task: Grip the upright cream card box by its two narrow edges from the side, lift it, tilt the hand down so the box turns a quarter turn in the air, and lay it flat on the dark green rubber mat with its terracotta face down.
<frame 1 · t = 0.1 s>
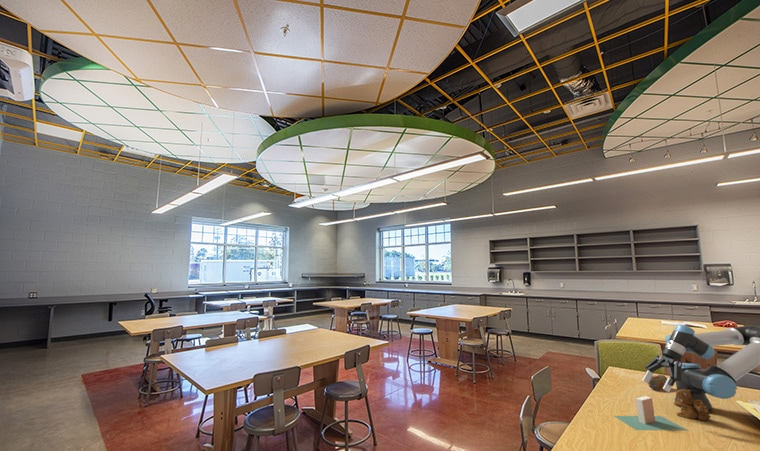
hand: (654, 386, 168), 15 cm above the table, tool tilted 35°, fingers open, 13 cm apart
brown piece: (659, 389, 207), on the table
mat: (649, 423, 158), on the table
stuffed squirrel: (694, 418, 164), on the table
card box: (647, 421, 160), resting on mat
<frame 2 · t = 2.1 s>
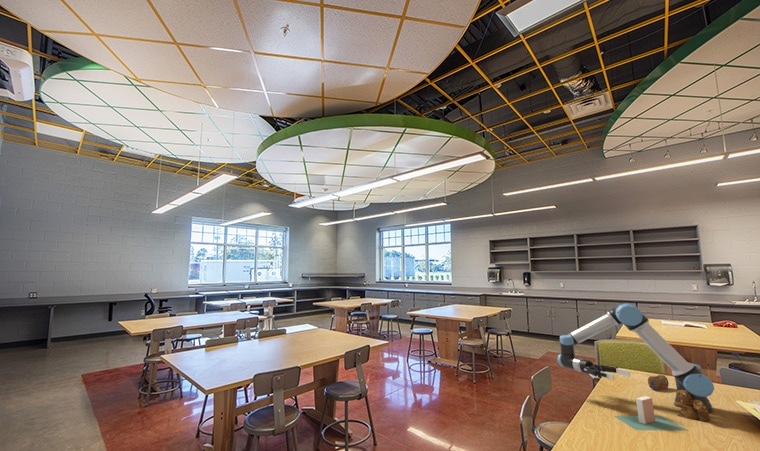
hand: (621, 375, 171), 20 cm above the table, tool horizontal, fingers open, 13 cm apart
stuffed squirrel: (694, 418, 164), on the table, touching arm
everything else where it was.
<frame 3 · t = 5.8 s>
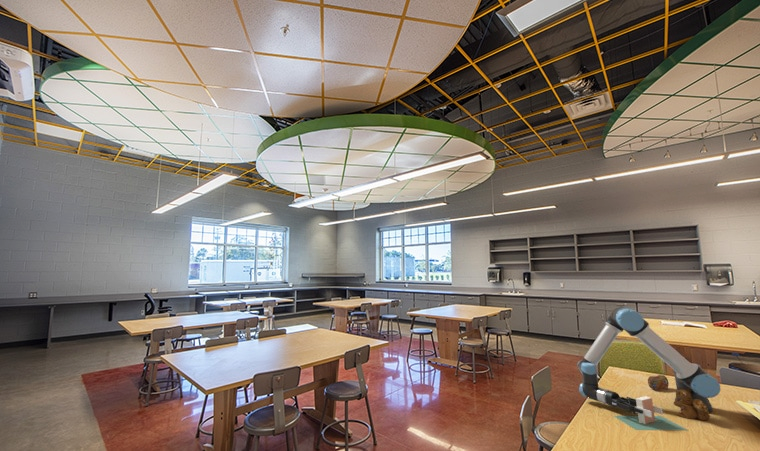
hand: (656, 412, 156), 6 cm above the table, tool horizontal, fingers closed on card box, 8 cm apart
stuffed squirrel: (694, 418, 164), on the table
card box: (647, 421, 160), resting on mat, touching gripper
everything else where it was.
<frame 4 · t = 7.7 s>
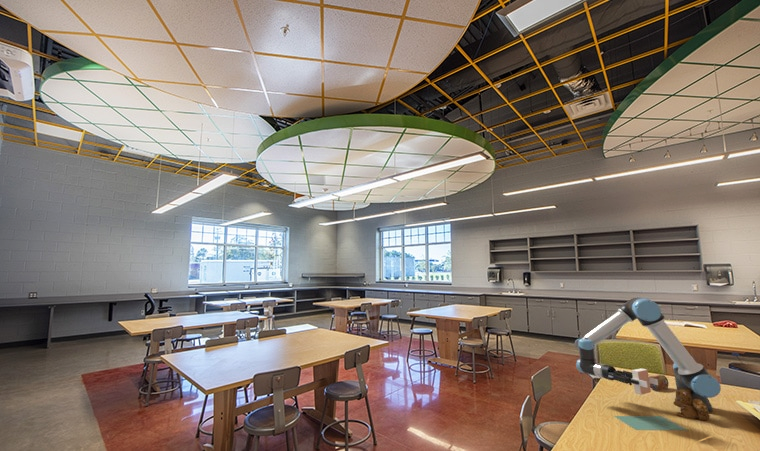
hand: (652, 383, 159), 20 cm above the table, tool horizontal, fingers closed on card box, 8 cm apart
card box: (643, 392, 162), point 14 cm above the table, touching gripper
everything else where it was.
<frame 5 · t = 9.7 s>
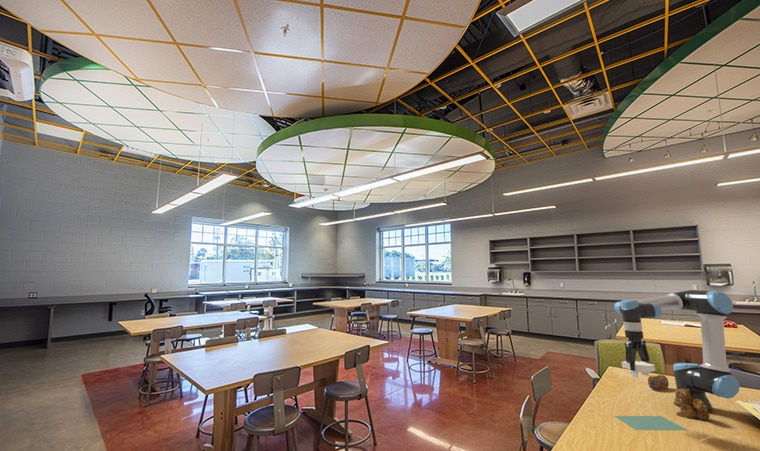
hand: (640, 376, 163), 22 cm above the table, tool pointing down, fingers closed on card box, 8 cm apart
card box: (626, 363, 169), point 27 cm above the table, tilted 90°, touching gripper
everything else where it was.
when the fingers open (2 cm above the table, at t = 12.1 s): card box drops 4 cm, resting on mat.
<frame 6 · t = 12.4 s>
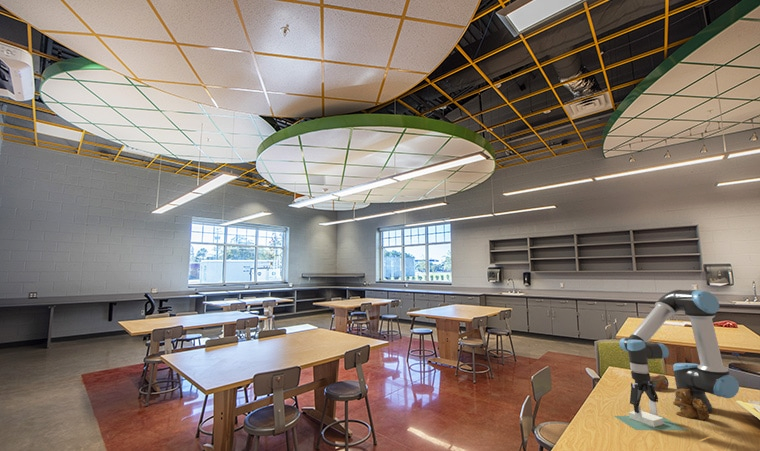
hand: (646, 417, 160), 3 cm above the table, tool pointing down, fingers open, 12 cm apart
card box: (633, 414, 165), point 2 cm above the table, tilted 90°, touching mat
everything else where it was.
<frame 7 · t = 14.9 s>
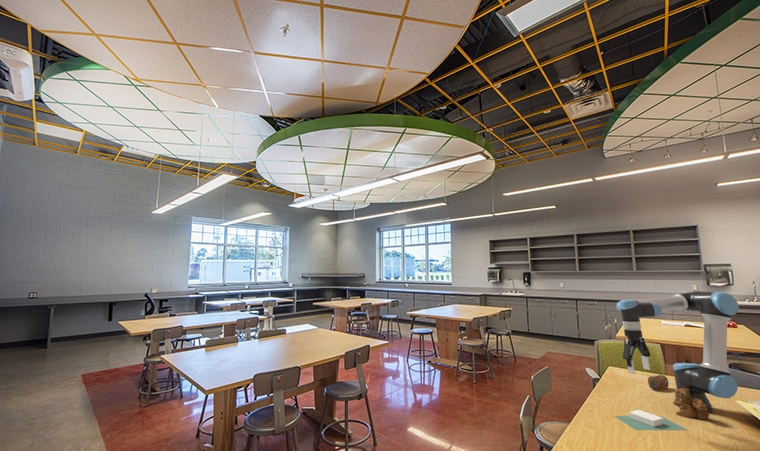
hand: (639, 371, 167), 23 cm above the table, tool pointing down, fingers open, 13 cm apart
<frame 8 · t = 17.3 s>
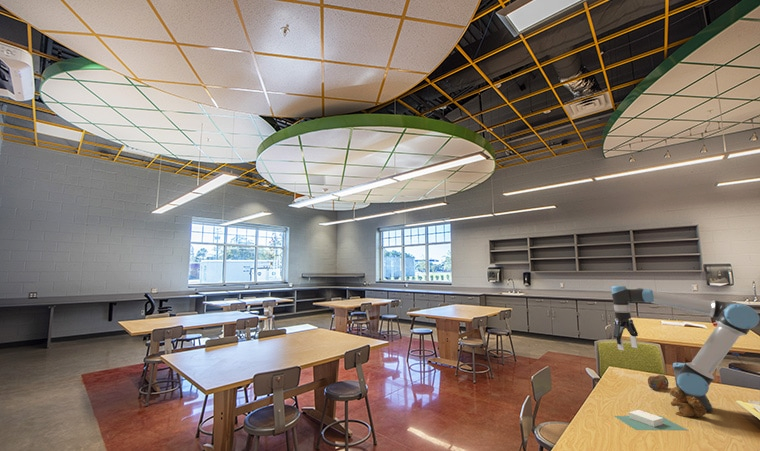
hand: (627, 348, 188), 30 cm above the table, tool pointing down, fingers open, 13 cm apart
stuffed squirrel: (692, 415, 166), on the table, touching arm
everything else where it was.
at the end: card box touching mat; card box tilted 90°; the gripper is holding nothing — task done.
